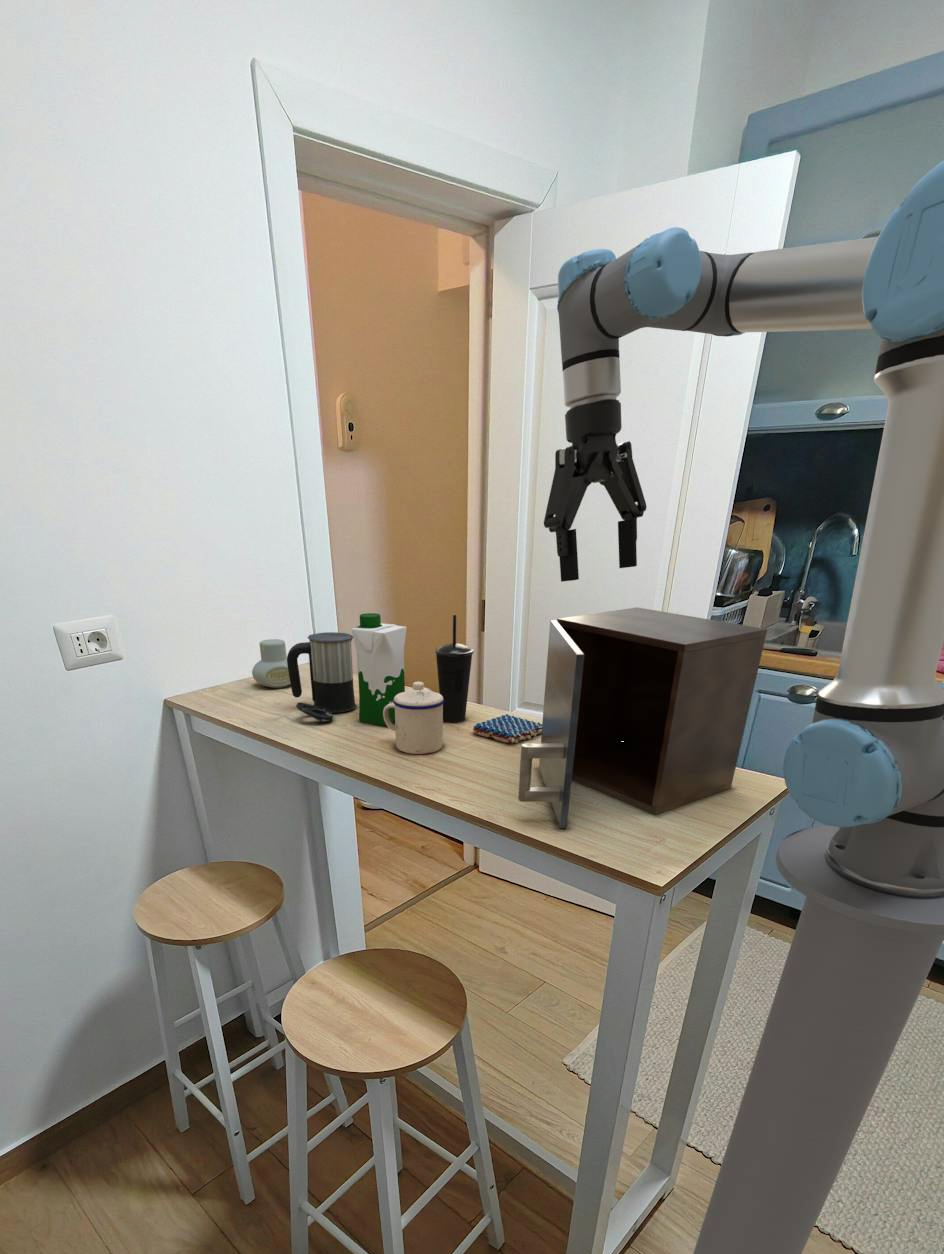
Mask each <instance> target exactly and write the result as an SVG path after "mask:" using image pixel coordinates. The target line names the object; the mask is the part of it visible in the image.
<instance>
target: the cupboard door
mask: <svg viewBox="0 0 944 1254" xmlns="http://www.w3.org/2000/svg"><path fill="white" fill-rule="evenodd" d="M548 632H549V633H548V643H547V657H546V668H545V669H546V672H545V685H544V697H543V709H542V722H541V724H542V729H541V730H542V734H541V733H540V735H541V736H540V743H522V744H521V746H520V761H519V762H520V763H519V777H518V778H519V779H518V794H517V797H518V798H517V800H518V801H519V802H523V803H531V802H532V803H539V802H540V803H543V802H544V803H547V802H548V803H550V804H551V807H552V809H553V812H554V814H555V815H554V816H555V818H556V821H557V824H558V826H559V829H567V828H568V819H569V811H570V800H571V790H572V781H573V780H572V772H573V763H574V753H575V743H576V734H577V724H578V714H579V705H580V695H581V685H582V675H583V666H584V656H585V655H584V653H583V652H582V651H581V650H580V649H579V647H578V646H577V645H576V644H575V642H574V641H573V640H572V639H571V638H570V636H569V635H568V634H567V633H566V631H565V630H564V629H563V628H562V627H561V625H560V624H559V623H558V622H557V619H553V620H549V631H548ZM533 759H539V761H538V762H539V763H538V769H539V772H540V775H541V778H542V781H543V784H544V786H533V787H532V786H531V782H532V781H531V780H532V770H533V769H532V767H533Z"/></svg>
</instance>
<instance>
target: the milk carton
mask: <svg viewBox="0 0 944 1254" xmlns="http://www.w3.org/2000/svg"><path fill="white" fill-rule="evenodd" d="M381 618H382V617H381V614H380V613H374V612H368V613H361V614H359V625H358V626H355V627H352V628H351V635H352V636H353V642H354V645H355V651H356V662H357V663H356V664H357V678H358V681H357V682H358V721H359V722H361V723H365V724H371V725H375V726H376V725H377V726H380V727H381V726H382V727H387V728H388V726H387V725H386V723H385V721H384V718H383V710H384V708H385V706H386V705H388V704H390V703H393V700H394V697H395V696H396V695H397V694H399V693H402V692H405V691H406V685H405V684H406V682H405V646H406V645H405V644H406V636H407V635H406V634H407V626H405V625H404V626H402V625H397V624H393V623H383V622H382V621H381ZM388 715H389V718H390V721H391V722H392V724H394V725H395V708H389V711H388Z"/></svg>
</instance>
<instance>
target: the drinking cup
mask: <svg viewBox="0 0 944 1254" xmlns="http://www.w3.org/2000/svg"><path fill="white" fill-rule="evenodd" d="M474 653H475V650H474V648H472V647H469V646H467V645H466V644H464V643H460V642H457V614H453V615H452V642H450V643H445V644H442V645H441V646H439V647H436V648H435V649H434V654H435V658H436V670H437V679H438V693H439V694H441V695H442V697H443V699H444V703H443V722H445V723H455V724H457V723H461V722H462V723H463V722H464V721H465V720H466V715H467V714H466V713H467V705H468V695H469V688H470V687H469V686H470V680H471V679H470V677H471V668H472V660H473V659H472V658H473V655H474Z"/></svg>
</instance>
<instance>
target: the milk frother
mask: <svg viewBox="0 0 944 1254" xmlns="http://www.w3.org/2000/svg"><path fill="white" fill-rule="evenodd" d="M307 639H308V641H307V642H306V641H305V642H304V641H303V642H298V643H296V644H294V645H293V646H292V647H290V649H289V651H288V652H287V654H286V655H287V665H288V672H289V677H290V683H291V684H290V687H291V695H292V696H293V697H294V698H300V697H301V696H302V693H303V688H302V682H301V677H300V675H301V674H300V669H299V661H298V658H299V657H300V656H301V655H305V654H308V662H309V663H308V664H309V675H310V686H311V695H312V696H311V697H312V701H313V704H311V703H310V704H309V703H307V702H306V703H305V702H301V701H300V702H297V703H296V705H295V707H296V709H297V710H298V711H300V712H301V713H303V714H305V715H307V716H310V717H311V718H313V719H315V720H318V721H319V722H320V723H322V722H323V721H332V720H333V718H334V714H338V713H340V714H341V713H347V712H350V711H353V710H355V709H356V708H357V704H356V699H355V688H354V674H353V673H354V671H353V656H352V655H353V651H352V650H353V649H352V640H354V638H353V634H350V633H346V632H337V631H335V632H334V631H331V632H329V631H327V632H317V633H312V634H309V635H308V636H307Z"/></svg>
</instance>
